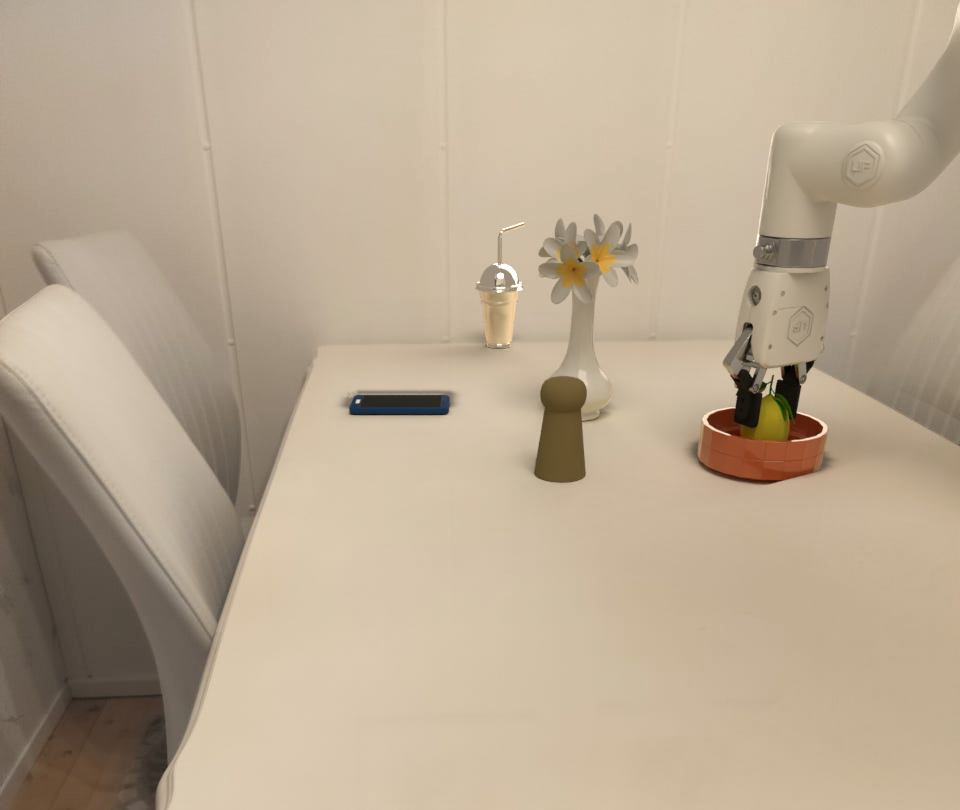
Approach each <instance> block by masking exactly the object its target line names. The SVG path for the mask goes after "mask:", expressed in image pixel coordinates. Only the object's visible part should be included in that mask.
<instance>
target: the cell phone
mask: <svg viewBox="0 0 960 810" xmlns="http://www.w3.org/2000/svg"><path fill="white" fill-rule="evenodd" d="M450 399H451V398H450V396H449V395H447V394H356V395H354V396H353V398H352V400H351V403H350V405H349V408H348V409H349V410H348V411H349V413H350V414H352V415H445V414H448V413H449V411H450V404H451V403H450V402H451V400H450Z"/></svg>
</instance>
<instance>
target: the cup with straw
mask: <svg viewBox="0 0 960 810" xmlns="http://www.w3.org/2000/svg"><path fill="white" fill-rule="evenodd" d="M524 227H526V224H525V222H520V223H517V224H514V225H511V226H508V227H505V228H502V229H500V230H499V232H498V234H497V262H496V263H492V264H490V265H488V266H487V267H486V268H485V269H484V270H483V271H482V273H481V276H480V278H479V281H477V282H475V287H474V289H475V290H476V291H479V300H480V304H481V308H482V318H483V325H484V326H483V327H484V329H483V330H484V338H485V340H486V341H485V342H486V344H485V346H486V347H488V348H491V349H507V348H511V347H512V340H513V337H514V336H513V335H514V327H515V320H516V311H517V305H518V302H519V297H520V291H523V290H524V283H523V282H522V281H520V278H519V275H518V273H517V271H516V270H515V268H513V267H512V266H511V265H509V264H507V263H502V262H503V261H502V258H503V252H502V251H503V235H504V234H506V233H509V232H512V231H515V230H518V229H521V228H524Z"/></svg>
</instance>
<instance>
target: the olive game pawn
mask: <svg viewBox="0 0 960 810" xmlns="http://www.w3.org/2000/svg"><path fill="white" fill-rule="evenodd" d="M539 391H540V392H539V397H540V402H541V404H542V406H543V407H544V411H543V417H542V423H541V427H540V428H541V429H540V434H539V440H538V446H537V452H536V458H535V464H534V471H533V474H534V476H535V477H537V478H538V479H540V480H543V481H547V482H551V483H552V482H554V483H571V482H576V481H577V482H578V481H580V480H582V479H584V478H585V477H586V475H587V474H586V473H587V470H586V459H585V458H586V457H585V445H584V443H585V442H584V430H583V421H582V416H581V408H582V407H583V405H584V404H585V401H586V397H587V389H586V386H585V384H584V382H583V381H582V380H580V379H578V378H575V377H570V376H557V377H551V378H547V379H545V380H544V381H543V383H542V385H541V388H540V390H539Z"/></svg>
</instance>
